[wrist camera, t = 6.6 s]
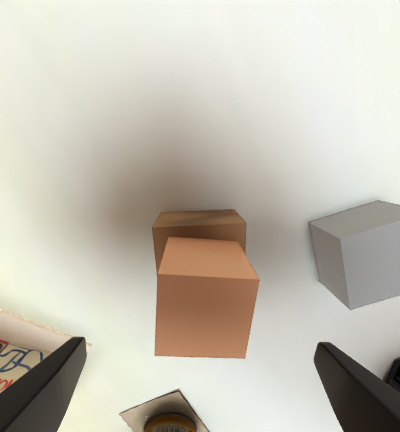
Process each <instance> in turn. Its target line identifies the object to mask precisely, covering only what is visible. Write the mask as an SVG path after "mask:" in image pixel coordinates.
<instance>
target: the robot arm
mask: <svg viewBox="0 0 400 432" xmlns="http://www.w3.org/2000/svg"><path fill="white" fill-rule="evenodd" d="M86 357H87V350H86V340H85V338H84V337H72V338H70V339H69V340H68V341H66V342H65V343H64V344H63V345H61V346H60V347H59V348H57V349H56V350H55V351H54V352H52V353H51V354H50V355H48V356H47V357H46V358H44V359H43V360H42V361H41V362H39V363H38V364H37V365H35V366H34V367H33V368H32V369H30V370H29V371H28V372H26V373H25V374H24V375H22V376H21V377H20V378H19V379H17V380H16V381H15V382H13V383H12V384H11V385H10V386H8V387H7V388H6V389H4V390H3V391H2V392H0V432H57V430H58V428H59V426H60V424H61V422H62V420H63V418H64V415H65V413H66V411H67V408H68V406H69V403H70V401H71V398H72V395H73V393H74V390H75V387H76V385H77V382H78V380H79V377H80V374H81V372H82V369H83V366H84V364H85V361H86ZM314 363H315V366H316V369H317V371H318V374H319V376H320V379H321V381H322V384H323V386H324V389H325V391H326V394H327V396H328V398H329V401H330V403H331V406H332V408H333V410H334V413H335V415H336V417H337V419H338V421H339V423H340V425H341V427H342V429H343V431H344V432H400V360H398V361H396V362H395V363H394V366H393V368H392V371H391V373H390V376H389V378H388V380H387V383H385V382H384V381H382V380H381V379H380V378H378V377H377V376H375V375H374V374H373V373H371V372H370V371H369V370H367V369H366V368H364V367H363V366H362V365H360V364H359V363H358V362H356V361H355V360H353V359H352V358H351V357H349V356H348V355H347V354H345V353H344V352H342V351H341V350H340V349H338V348H337V347H336V346H334V345H333V344H331V343H329V342H319V343H318V345H317V348H316V352H315V355H314Z"/></svg>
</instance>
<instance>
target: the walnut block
mask: <svg viewBox="0 0 400 432" xmlns="http://www.w3.org/2000/svg"><path fill="white" fill-rule="evenodd" d="M152 230H153V240H154V250H155V259H156V269H157V278H158V271H159V268H160V264H161V261H162V258H163V254H164V251H165V247H166V244H167V241H168V237H183V238H198V239H213V240H228V241H238V243H239V245H240V246H241V248H242V250H243V252H244V253H245V244H246V223H245V221H244V220H243V219H242V218H241V217H240V216H239V214H238V213H237V212H236V211H235V210H234V209H231V210H209V211H186V212H164V213H160V215H159V217H158V218H157V220H156V222H155V224H154V225H153V227H152Z"/></svg>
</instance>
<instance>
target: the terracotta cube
mask: <svg viewBox="0 0 400 432" xmlns="http://www.w3.org/2000/svg"><path fill="white" fill-rule="evenodd" d="M258 285H259V278H258V276H257V274H256V273H255V271H254V269H253V267H252V266H251V264H250V262H249V260H248V259H247V257H246V255H245V253H244V252H243V250H242V248H241V246H240V245H239V243H238V241H228V240H213V239H198V238H183V237H168V241H167V244H166V247H165V251H164V254H163V258H162V261H161V264H160V268H159V271H158V278H157V305H156V331H155V356H176V357H210V358H243V359H245V356H246V350H247V345H248V339H249V334H250V329H251V323H252V318H253V312H254V307H255V301H256V296H257V290H258Z"/></svg>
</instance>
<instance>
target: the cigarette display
mask: <svg viewBox="0 0 400 432" xmlns="http://www.w3.org/2000/svg"><path fill="white" fill-rule="evenodd" d="M70 338H72V337H71V336H69V335H66V334H64V333H61V332H59V331H56V330H54V329H51V328H49V327H46V326H44V325H41V324H38V323H36V322H33V321H31V320H28V319H26V318H23V317H21V316H18V315H16V314H13V313H11V312H8V311H5V310H3V309H0V392H2V391H3V390H4V389H6V388H7V387H8V386H10V385H11V384H12V383H13V382H15V381H16V380H17V379H19V378H20V377H21V376H22V375H24V374H25V373H26V372H28V371H29V370H30V369H32V368H33V367H34V366H35V365H37V364H38V363H39V362H41V361H42V360H43V359H44V358H46V357H47V356H48V355H50V354H51V353H52V352H54V351H55V350H56V349H57V348H59V347H60V346H61V345H63V344H64V343H65V342H66V341H68V340H69V339H70ZM91 346H92V344H89V343H87V342H86V350H87V353H88V351H89V349H90V348H91Z"/></svg>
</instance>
